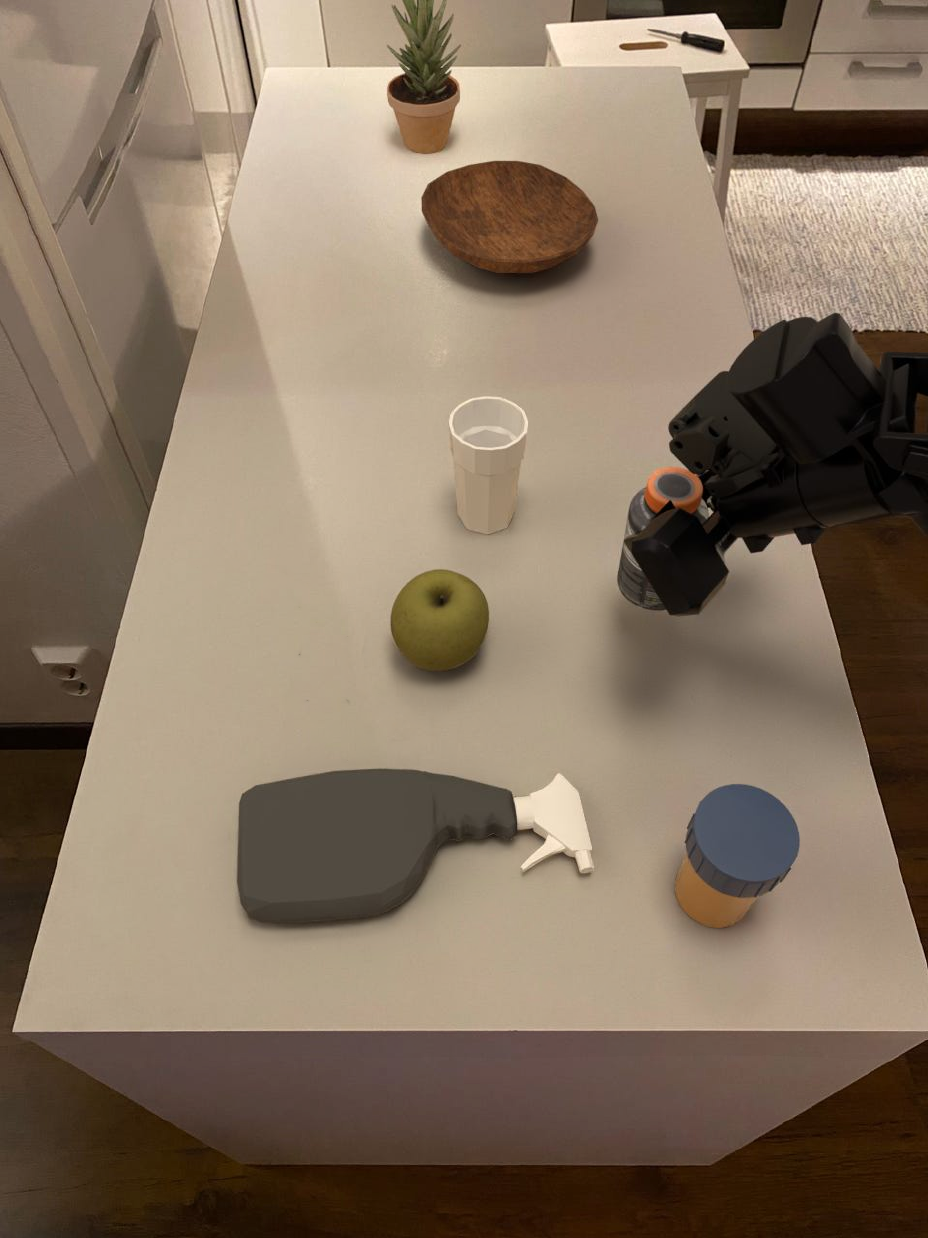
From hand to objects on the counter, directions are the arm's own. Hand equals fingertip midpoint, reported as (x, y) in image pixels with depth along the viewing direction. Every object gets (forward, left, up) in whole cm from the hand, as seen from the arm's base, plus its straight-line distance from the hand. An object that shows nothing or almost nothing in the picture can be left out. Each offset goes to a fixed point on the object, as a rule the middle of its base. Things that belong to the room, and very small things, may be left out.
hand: (650, 520), depth 72 cm
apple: (+17, -2, -11) cm, 20 cm away
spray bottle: (+24, +14, -11) cm, 30 cm away
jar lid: (+6, +24, -4) cm, 25 cm away
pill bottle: (-1, +1, -7) cm, 7 cm away
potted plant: (-9, -82, -11) cm, 83 cm away
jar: (+6, +24, -11) cm, 27 cm away
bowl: (-10, -55, -11) cm, 57 cm away
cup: (+8, -15, -11) cm, 20 cm away
